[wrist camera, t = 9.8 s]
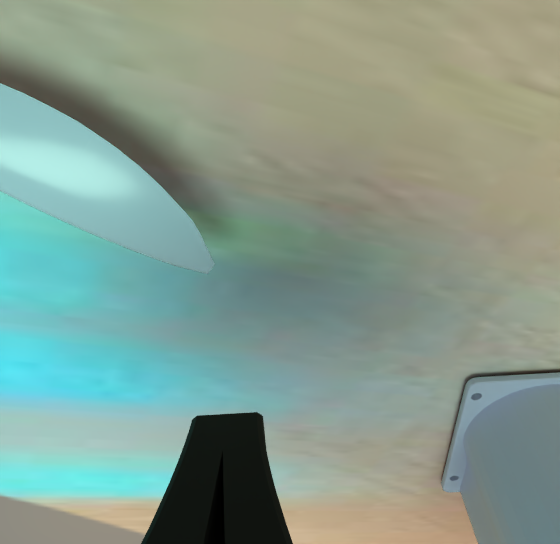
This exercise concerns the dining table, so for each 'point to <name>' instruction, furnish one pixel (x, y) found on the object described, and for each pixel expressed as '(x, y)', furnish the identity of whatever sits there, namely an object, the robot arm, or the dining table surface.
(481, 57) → the dining table surface
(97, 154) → the propeller
